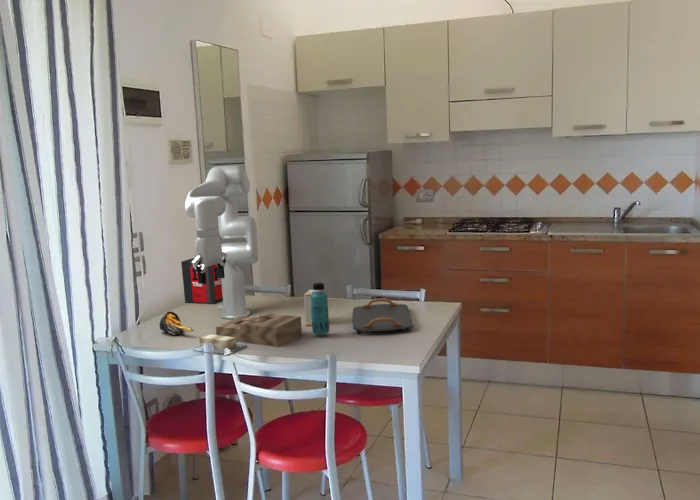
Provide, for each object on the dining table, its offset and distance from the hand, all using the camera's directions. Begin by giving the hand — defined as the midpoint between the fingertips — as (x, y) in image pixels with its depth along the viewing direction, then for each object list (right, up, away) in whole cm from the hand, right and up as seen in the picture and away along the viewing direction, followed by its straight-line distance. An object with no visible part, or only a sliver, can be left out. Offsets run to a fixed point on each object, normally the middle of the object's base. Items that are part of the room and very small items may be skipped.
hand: (211, 280), depth 234 cm
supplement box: (+35, -19, +29) cm, 49 cm away
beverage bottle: (+39, -21, +11) cm, 45 cm away
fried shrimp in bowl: (-19, -22, +24) cm, 37 cm away
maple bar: (+2, -24, +2) cm, 24 cm away
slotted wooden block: (+15, -22, +14) cm, 30 cm away
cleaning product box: (-20, -14, +78) cm, 82 cm away
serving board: (+62, -18, +26) cm, 70 cm away
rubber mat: (+2, -24, +1) cm, 25 cm away
